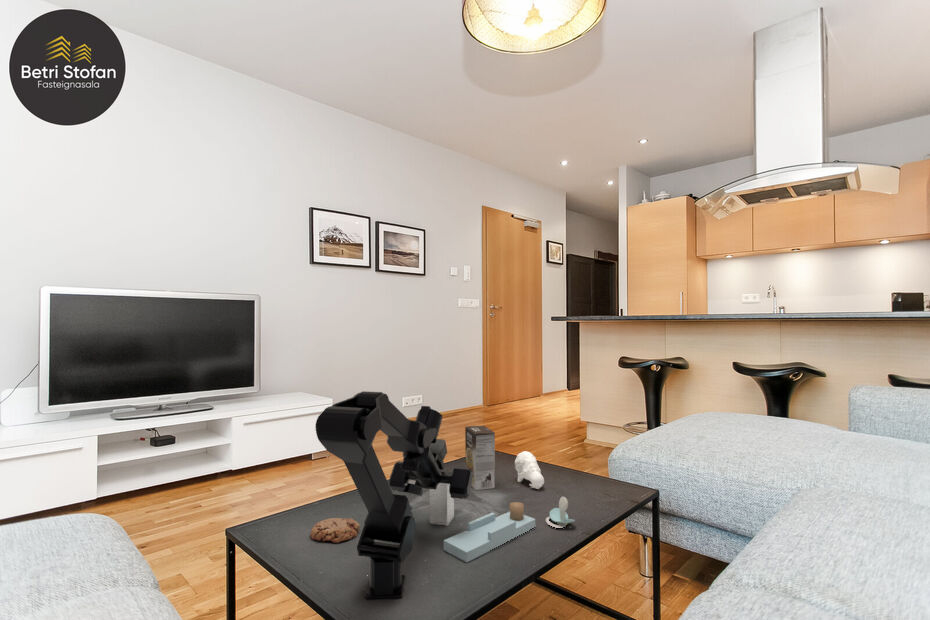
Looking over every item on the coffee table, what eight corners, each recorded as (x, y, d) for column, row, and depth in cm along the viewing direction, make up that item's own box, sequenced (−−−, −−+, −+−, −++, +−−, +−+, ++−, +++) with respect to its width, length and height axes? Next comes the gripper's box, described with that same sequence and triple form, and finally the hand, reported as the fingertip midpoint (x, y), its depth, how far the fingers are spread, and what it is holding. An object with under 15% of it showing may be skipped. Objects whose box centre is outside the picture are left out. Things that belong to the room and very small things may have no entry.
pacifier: (554, 533, 105) (578, 529, 107) (553, 505, 105) (577, 501, 107) (540, 519, 112) (563, 516, 114) (539, 493, 112) (562, 490, 114)
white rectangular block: (447, 525, 109) (447, 482, 109) (429, 523, 110) (429, 480, 110) (455, 515, 114) (455, 474, 115) (438, 513, 116) (438, 472, 116)
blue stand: (466, 562, 92) (466, 537, 92) (443, 549, 97) (443, 525, 97) (535, 527, 107) (535, 506, 107) (512, 518, 112) (512, 497, 112)
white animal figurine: (532, 448, 142) (551, 463, 131) (531, 475, 143) (550, 492, 132) (513, 450, 140) (530, 465, 129) (512, 477, 141) (529, 495, 130)
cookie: (309, 529, 107) (309, 516, 108) (356, 522, 111) (356, 510, 111) (311, 549, 98) (311, 535, 98) (362, 541, 102) (362, 527, 102)
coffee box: (464, 480, 140) (464, 426, 140) (484, 478, 141) (484, 424, 142) (474, 490, 131) (474, 433, 131) (495, 488, 133) (495, 431, 133)
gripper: (470, 432, 103) (483, 468, 113) (394, 427, 109) (413, 461, 119) (459, 480, 95) (474, 513, 105) (378, 471, 101) (399, 504, 111)
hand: (439, 496), depth 110 cm, fingers open, 9 cm apart
